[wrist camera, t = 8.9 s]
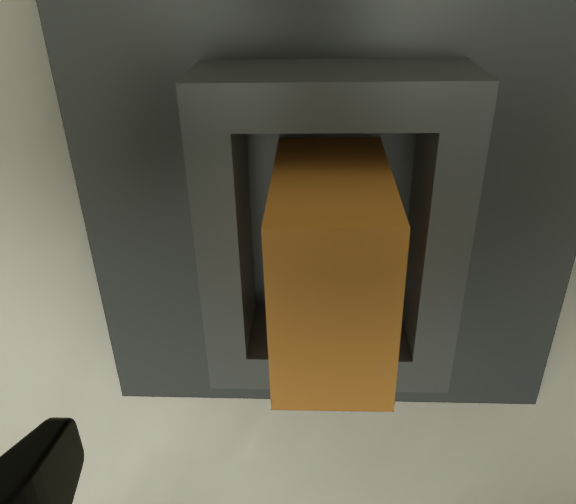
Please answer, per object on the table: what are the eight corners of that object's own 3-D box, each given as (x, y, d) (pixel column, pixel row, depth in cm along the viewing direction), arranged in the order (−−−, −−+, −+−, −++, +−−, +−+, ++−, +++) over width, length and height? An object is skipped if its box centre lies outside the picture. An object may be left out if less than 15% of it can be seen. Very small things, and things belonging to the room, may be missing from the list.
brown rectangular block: (380, 137, 16) (410, 228, 11) (372, 280, 19) (394, 411, 13) (278, 138, 16) (261, 228, 11) (283, 280, 19) (270, 409, 14)
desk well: (657, -87, 14) (755, -97, 11) (531, 394, 21) (566, 469, 18) (29, -73, 14) (-49, -78, 11) (126, 386, 22) (96, 457, 19)
